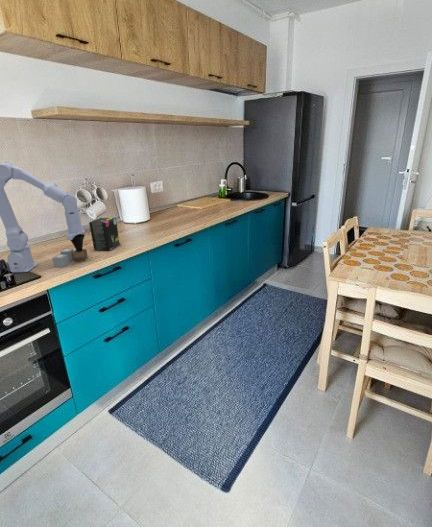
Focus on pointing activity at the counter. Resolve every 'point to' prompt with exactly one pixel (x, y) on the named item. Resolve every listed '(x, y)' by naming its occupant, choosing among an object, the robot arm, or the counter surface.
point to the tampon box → (104, 234)
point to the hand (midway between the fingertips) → (79, 250)
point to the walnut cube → (80, 255)
